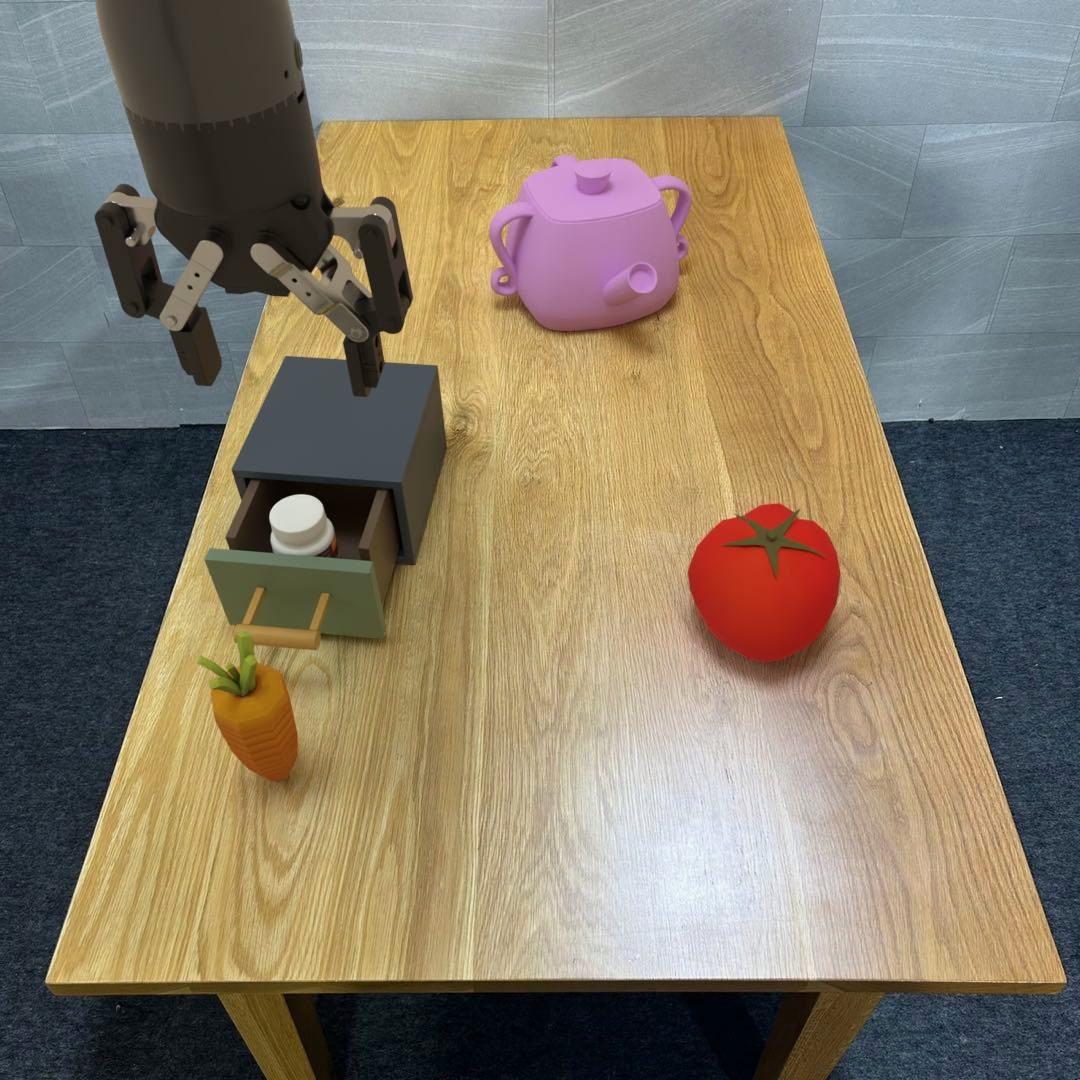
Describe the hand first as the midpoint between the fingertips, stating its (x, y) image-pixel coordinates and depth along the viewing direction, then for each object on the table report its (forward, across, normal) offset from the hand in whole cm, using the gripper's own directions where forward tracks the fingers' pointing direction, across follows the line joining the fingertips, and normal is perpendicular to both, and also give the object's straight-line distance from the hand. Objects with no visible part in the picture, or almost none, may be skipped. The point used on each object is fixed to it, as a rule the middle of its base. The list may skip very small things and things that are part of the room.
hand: (287, 382), depth 55 cm
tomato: (+30, +29, +11) cm, 43 cm away
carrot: (+30, -4, -7) cm, 31 cm away
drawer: (+29, -6, +9) cm, 31 cm away
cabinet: (+30, -6, +21) cm, 37 cm away
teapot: (+30, +12, +54) cm, 63 cm away
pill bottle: (+28, -6, +9) cm, 30 cm away
